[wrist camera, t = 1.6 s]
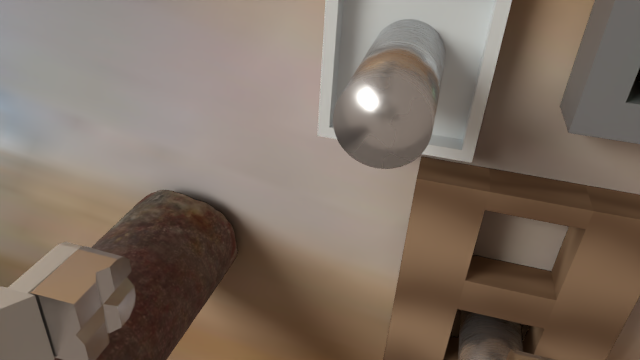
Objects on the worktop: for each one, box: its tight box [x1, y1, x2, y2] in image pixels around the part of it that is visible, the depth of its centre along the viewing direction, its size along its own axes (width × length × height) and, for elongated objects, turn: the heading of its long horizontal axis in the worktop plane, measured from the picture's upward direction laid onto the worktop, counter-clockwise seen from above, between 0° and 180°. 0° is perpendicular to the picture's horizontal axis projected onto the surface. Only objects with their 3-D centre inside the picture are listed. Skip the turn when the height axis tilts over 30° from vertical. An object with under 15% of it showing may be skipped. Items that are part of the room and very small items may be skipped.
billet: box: [333, 19, 446, 169], centre depth 22 cm, size 4×4×8 cm
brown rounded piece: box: [54, 190, 238, 360], centre depth 27 cm, size 8×7×20 cm
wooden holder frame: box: [383, 156, 640, 360], centre depth 30 cm, size 14×12×2 cm
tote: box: [317, 0, 512, 163], centre depth 25 cm, size 9×8×2 cm
